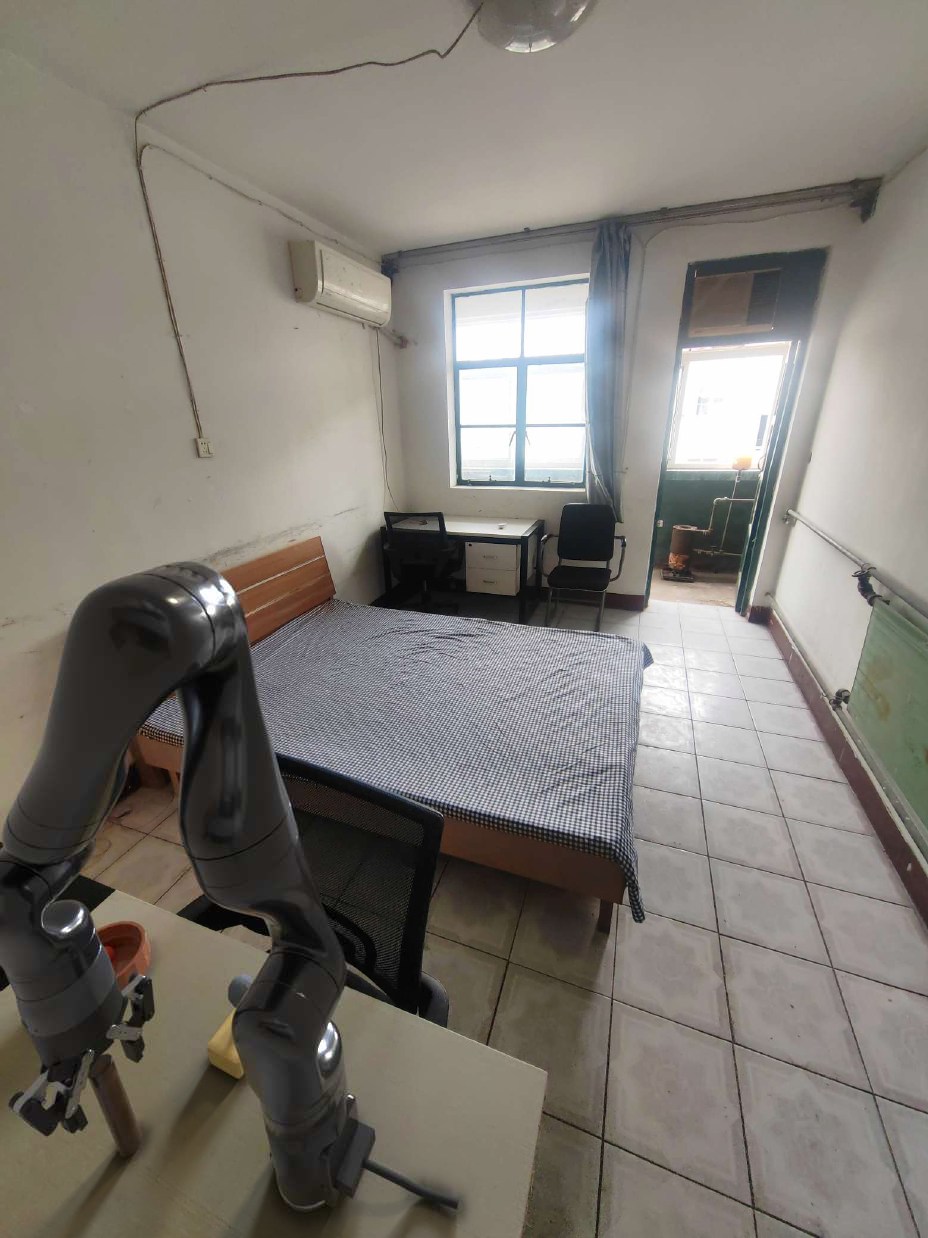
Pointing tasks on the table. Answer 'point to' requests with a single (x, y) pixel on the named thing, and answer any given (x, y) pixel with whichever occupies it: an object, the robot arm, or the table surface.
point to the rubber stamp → (229, 1032)
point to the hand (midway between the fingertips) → (108, 1088)
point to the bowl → (126, 949)
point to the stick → (115, 1105)
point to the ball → (110, 952)
